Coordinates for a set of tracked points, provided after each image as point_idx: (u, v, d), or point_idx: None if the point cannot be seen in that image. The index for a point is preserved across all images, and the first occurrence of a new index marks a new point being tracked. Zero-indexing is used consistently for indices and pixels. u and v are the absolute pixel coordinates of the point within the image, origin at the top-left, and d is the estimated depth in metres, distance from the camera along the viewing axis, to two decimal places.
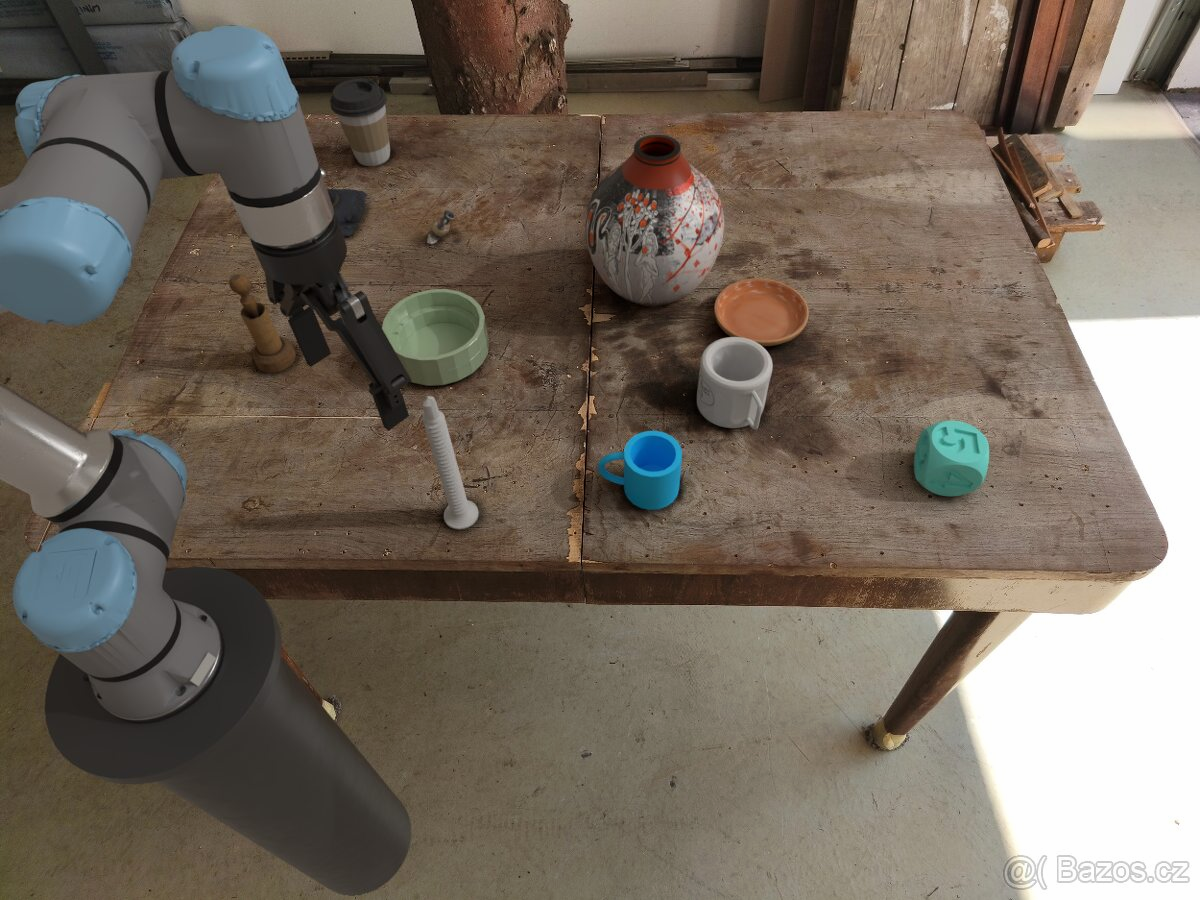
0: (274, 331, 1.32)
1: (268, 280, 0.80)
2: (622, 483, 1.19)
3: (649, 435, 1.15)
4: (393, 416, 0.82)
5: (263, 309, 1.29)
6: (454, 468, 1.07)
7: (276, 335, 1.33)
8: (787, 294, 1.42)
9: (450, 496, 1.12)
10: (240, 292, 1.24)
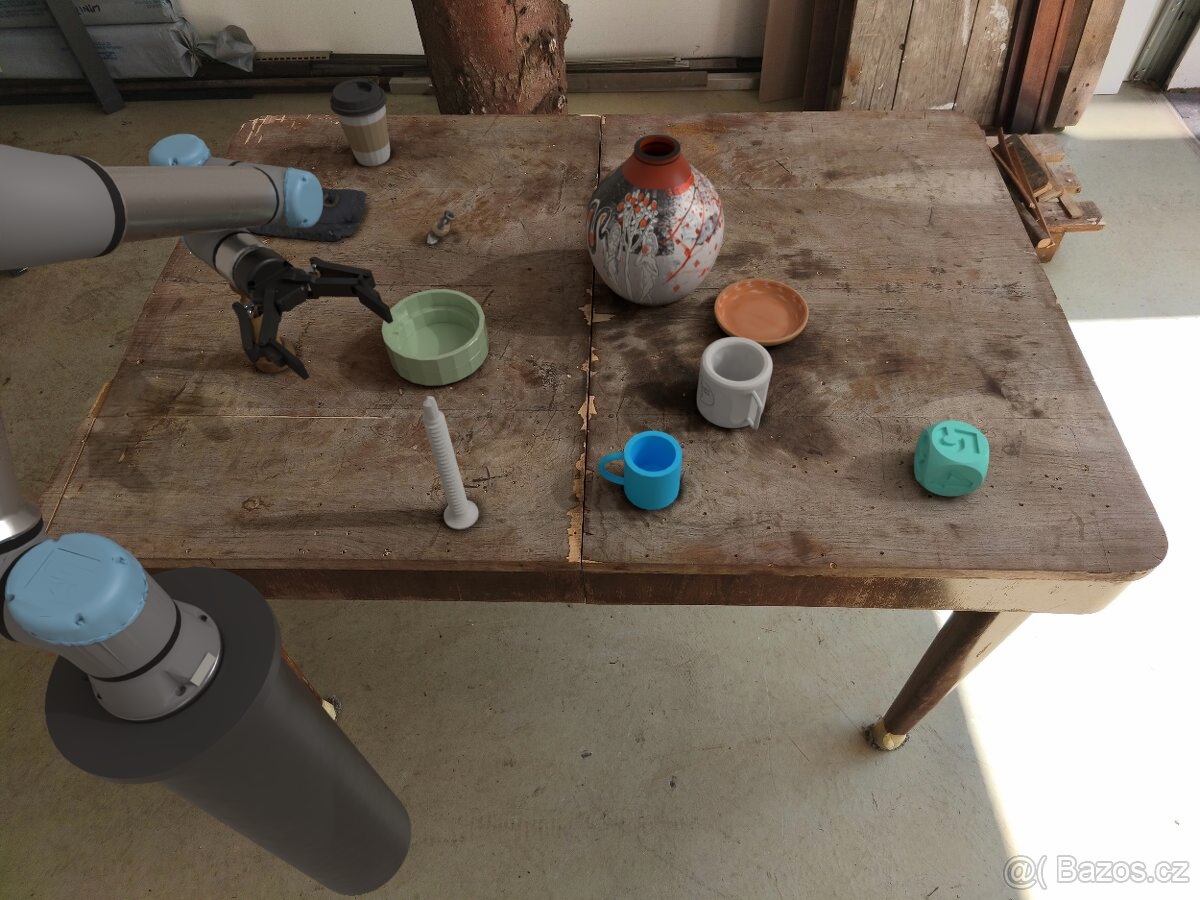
0: None
1: (243, 327, 1.05)
2: (622, 483, 1.19)
3: (649, 435, 1.15)
4: None
5: None
6: (454, 468, 1.07)
7: None
8: (787, 294, 1.42)
9: (450, 496, 1.12)
10: (240, 292, 1.24)
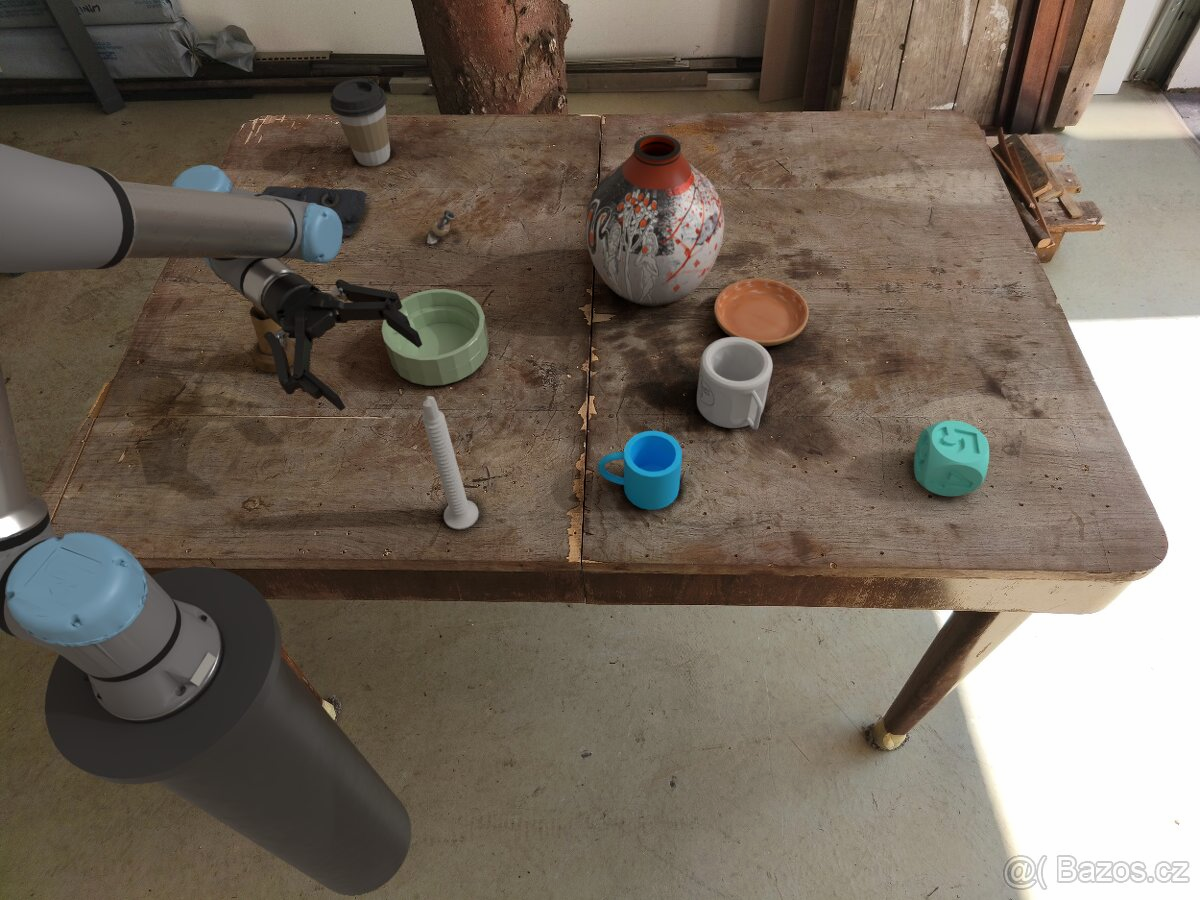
0: None
1: (277, 359, 1.07)
2: (622, 483, 1.19)
3: (649, 435, 1.15)
4: None
5: None
6: (454, 468, 1.07)
7: None
8: (787, 294, 1.42)
9: (450, 496, 1.12)
10: None
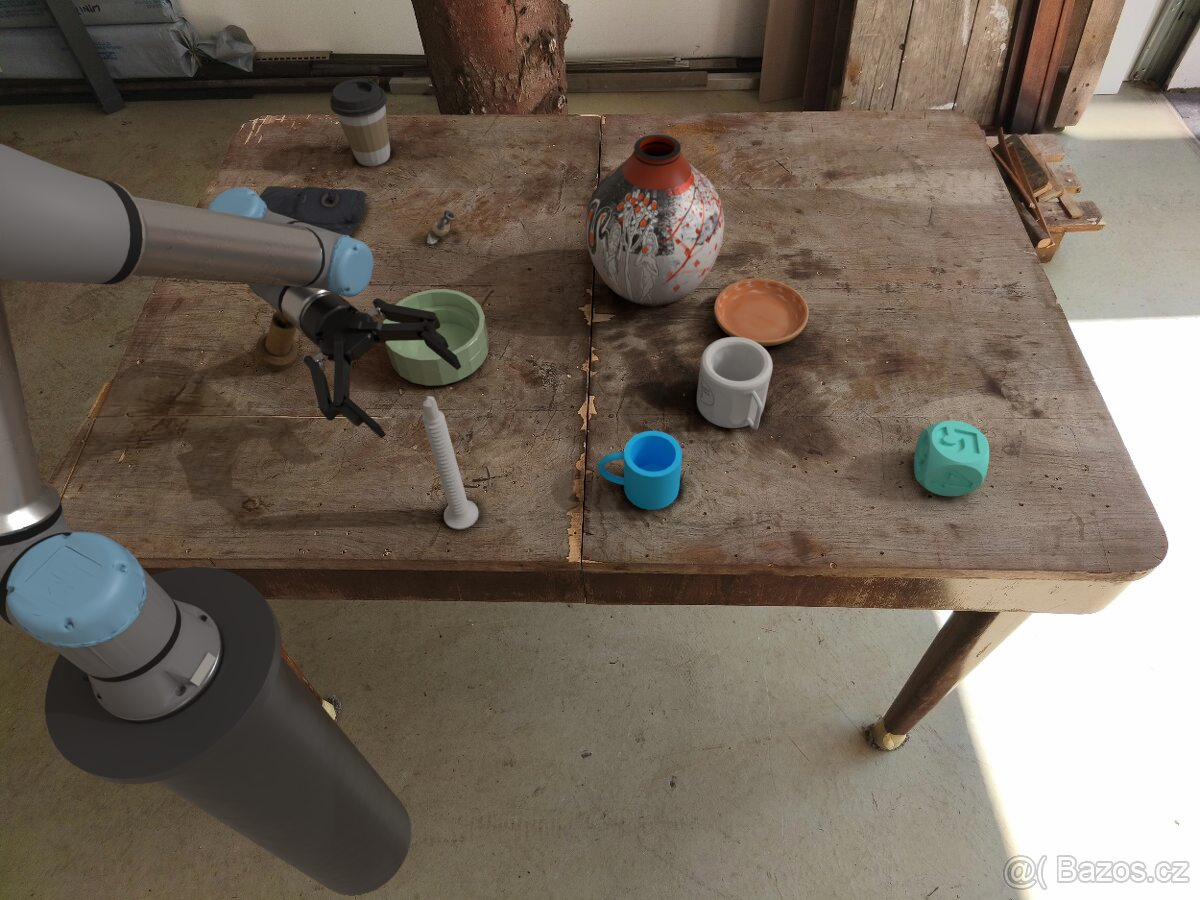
0: None
1: (317, 385, 1.07)
2: (622, 483, 1.19)
3: (649, 435, 1.15)
4: None
5: None
6: (454, 468, 1.07)
7: (292, 341, 1.32)
8: (787, 294, 1.42)
9: (450, 496, 1.12)
10: None
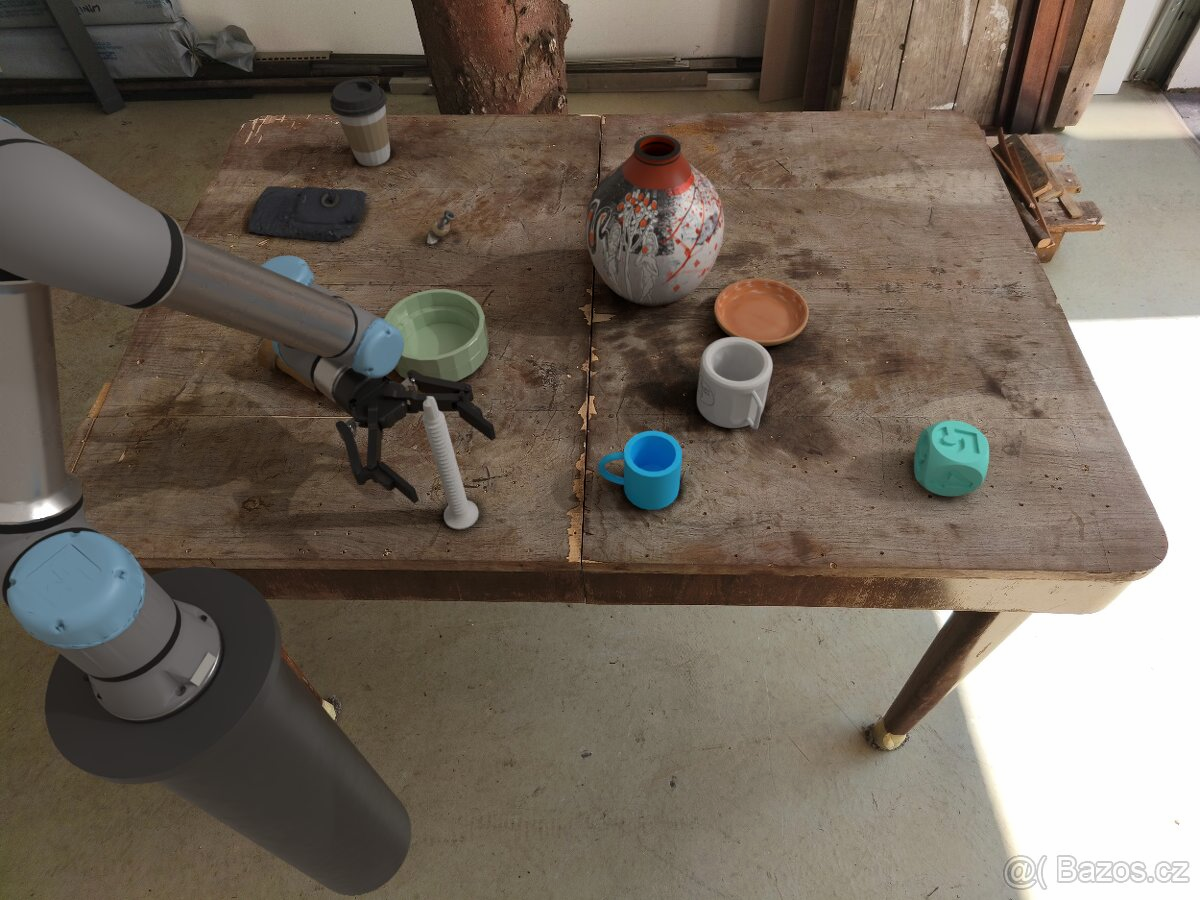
0: None
1: (350, 449, 1.06)
2: (622, 483, 1.19)
3: (649, 435, 1.15)
4: None
5: None
6: (454, 468, 1.07)
7: None
8: (787, 294, 1.42)
9: (450, 496, 1.12)
10: None
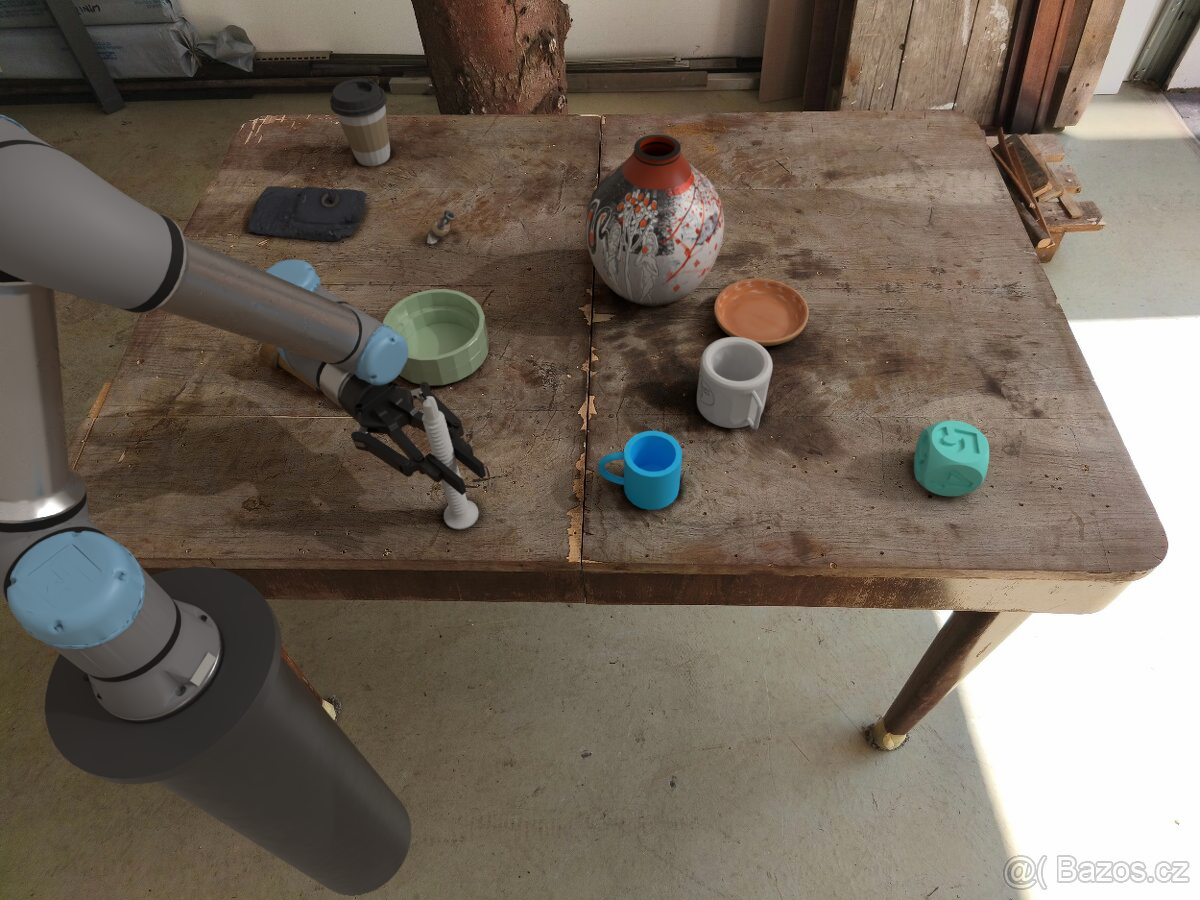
0: None
1: (383, 449, 1.05)
2: (622, 483, 1.19)
3: (649, 435, 1.15)
4: None
5: None
6: (454, 468, 1.07)
7: None
8: (787, 294, 1.42)
9: (450, 496, 1.12)
10: None
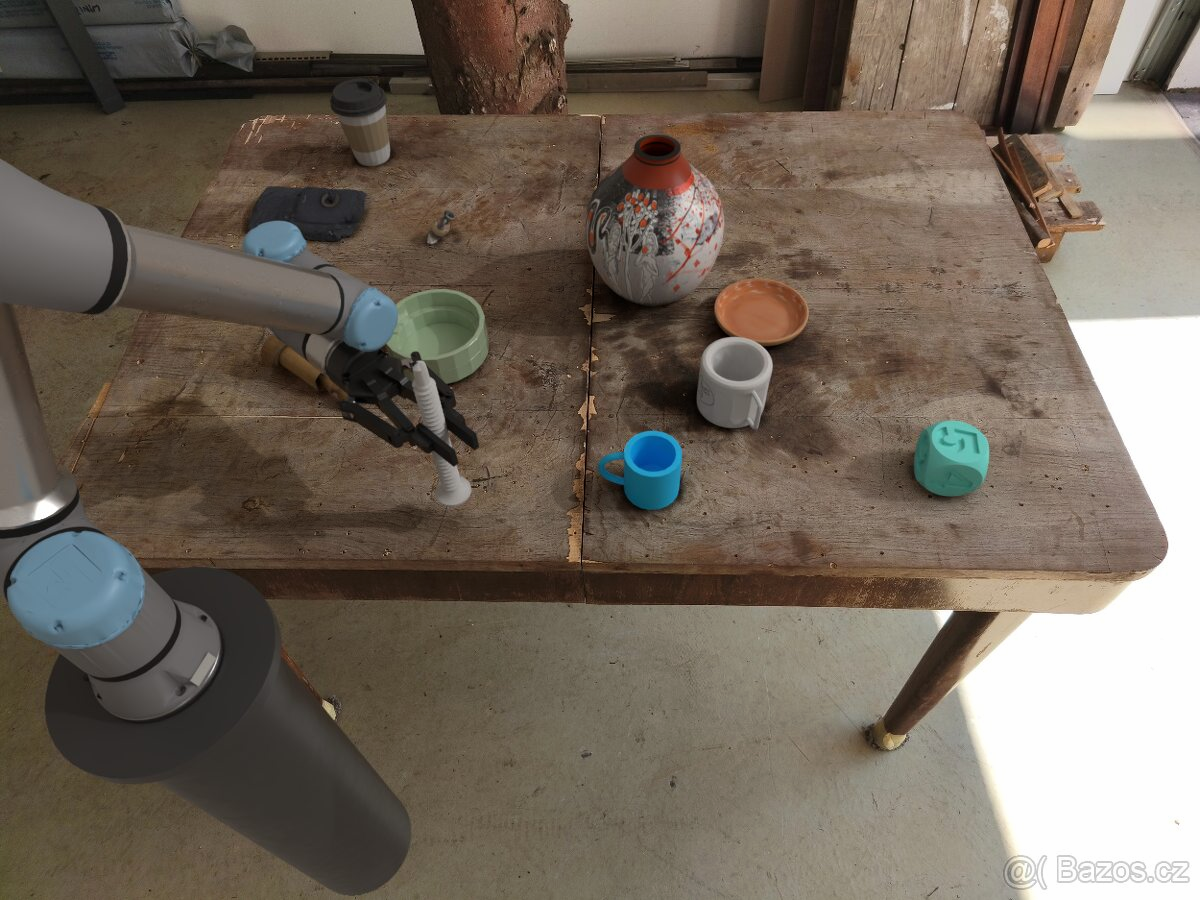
0: None
1: (371, 418, 1.01)
2: (622, 483, 1.19)
3: (649, 435, 1.15)
4: None
5: None
6: (446, 440, 1.02)
7: None
8: (787, 294, 1.42)
9: (442, 470, 1.07)
10: None
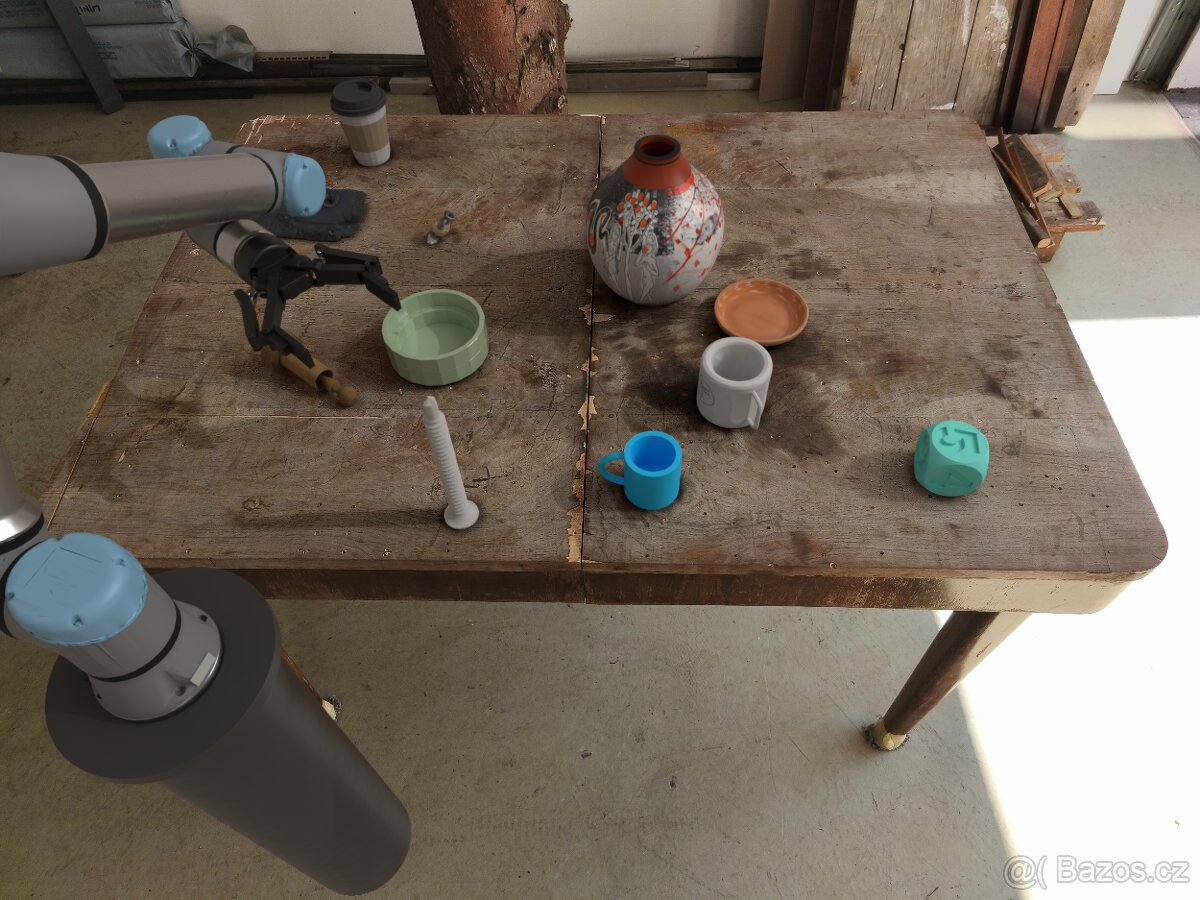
0: None
1: (246, 315, 1.01)
2: (622, 483, 1.19)
3: (649, 435, 1.15)
4: None
5: (329, 378, 1.33)
6: (454, 468, 1.07)
7: None
8: (787, 294, 1.42)
9: (450, 496, 1.12)
10: None
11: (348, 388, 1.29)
